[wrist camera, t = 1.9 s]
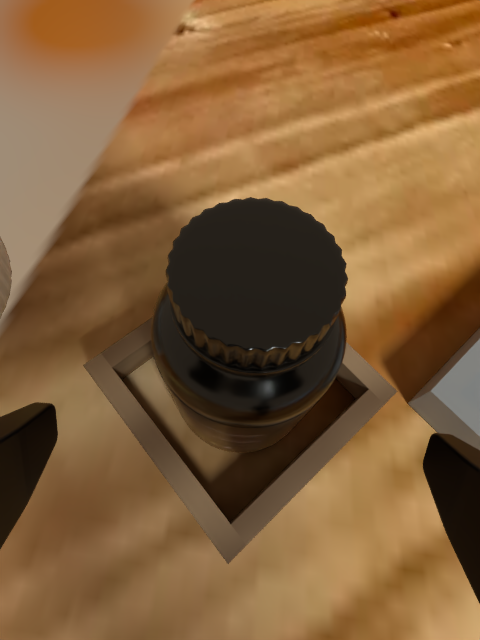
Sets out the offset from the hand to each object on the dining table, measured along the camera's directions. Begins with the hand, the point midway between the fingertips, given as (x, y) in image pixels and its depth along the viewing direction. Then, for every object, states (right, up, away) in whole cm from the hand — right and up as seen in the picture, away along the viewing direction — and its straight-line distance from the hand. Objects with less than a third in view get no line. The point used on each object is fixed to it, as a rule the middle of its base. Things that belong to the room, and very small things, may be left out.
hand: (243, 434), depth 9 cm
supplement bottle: (0, -1, +12) cm, 12 cm away
